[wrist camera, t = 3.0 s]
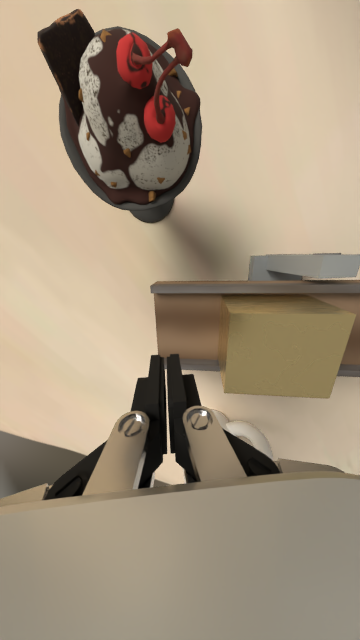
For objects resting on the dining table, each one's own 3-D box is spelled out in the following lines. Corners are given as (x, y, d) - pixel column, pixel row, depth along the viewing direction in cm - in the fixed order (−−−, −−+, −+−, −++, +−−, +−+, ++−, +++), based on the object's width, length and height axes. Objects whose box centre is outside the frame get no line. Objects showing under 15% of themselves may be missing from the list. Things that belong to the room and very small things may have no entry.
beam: (162, 277, 20) (148, 286, 15) (453, 274, 17) (574, 285, 12) (166, 342, 23) (155, 371, 17) (418, 349, 20) (502, 386, 15)
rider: (221, 295, 16) (230, 313, 11) (307, 295, 15) (356, 314, 10) (217, 356, 18) (224, 392, 13) (293, 358, 17) (329, 398, 12)
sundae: (190, 220, 19) (262, 131, 5) (129, 239, 19) (40, 203, 5) (171, 142, 17) (210, -390, 3) (103, 165, 17) (-176, -238, 3)
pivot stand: (250, 254, 21) (304, 254, 13) (300, 252, 21) (382, 252, 13) (240, 350, 25) (276, 395, 17) (282, 347, 26) (336, 390, 18)
